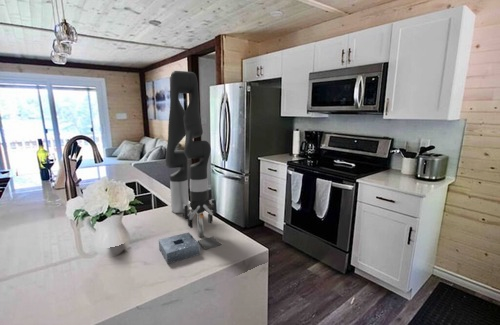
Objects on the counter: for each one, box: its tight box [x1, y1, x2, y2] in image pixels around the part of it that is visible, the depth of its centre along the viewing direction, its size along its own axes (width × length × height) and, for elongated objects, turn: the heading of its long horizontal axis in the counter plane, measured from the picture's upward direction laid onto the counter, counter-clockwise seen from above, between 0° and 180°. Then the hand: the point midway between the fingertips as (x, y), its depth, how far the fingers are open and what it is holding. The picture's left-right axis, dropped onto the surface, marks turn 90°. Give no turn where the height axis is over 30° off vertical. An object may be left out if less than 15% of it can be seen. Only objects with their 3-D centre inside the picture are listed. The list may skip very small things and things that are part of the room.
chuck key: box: [196, 212, 205, 238], centre depth 112 cm, size 5×2×11 cm, turn 32°
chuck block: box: [158, 232, 201, 265], centre depth 99 cm, size 12×12×4 cm
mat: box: [197, 236, 222, 250], centre depth 106 cm, size 8×7×1 cm
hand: (200, 225), depth 112 cm, fingers open, 8 cm apart
